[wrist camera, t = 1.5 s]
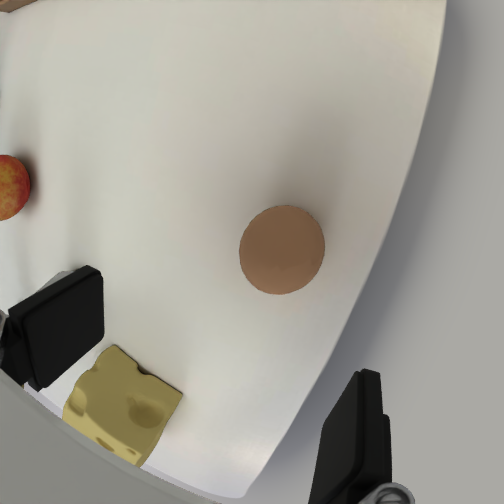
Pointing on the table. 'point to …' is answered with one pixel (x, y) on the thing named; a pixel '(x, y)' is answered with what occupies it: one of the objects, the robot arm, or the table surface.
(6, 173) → the fruit
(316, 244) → the egg
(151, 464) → the table surface
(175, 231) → the table surface
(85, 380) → the cheese
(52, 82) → the table surface
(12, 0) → the compartment tray
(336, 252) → the table surface
